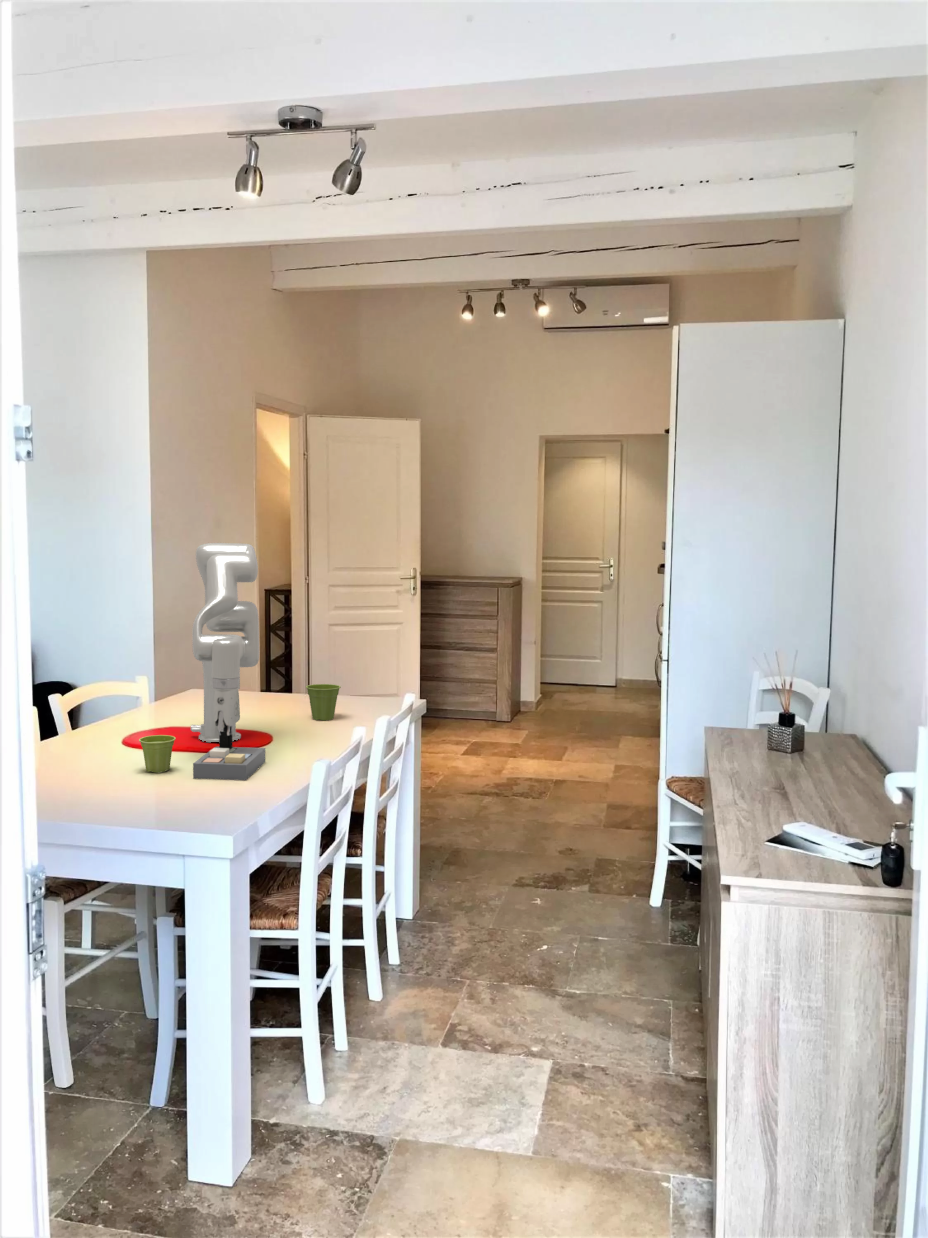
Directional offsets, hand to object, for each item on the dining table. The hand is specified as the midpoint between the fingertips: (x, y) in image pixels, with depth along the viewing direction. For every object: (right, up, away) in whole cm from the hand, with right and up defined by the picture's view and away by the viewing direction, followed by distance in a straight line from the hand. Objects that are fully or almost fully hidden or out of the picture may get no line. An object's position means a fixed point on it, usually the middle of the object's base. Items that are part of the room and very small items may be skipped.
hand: (225, 748), depth 281 cm
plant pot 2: (+18, +2, +66) cm, 68 cm away
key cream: (0, -2, -6) cm, 7 cm away
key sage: (0, -3, 0) cm, 3 cm away
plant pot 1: (-17, -5, -8) cm, 19 cm away
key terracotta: (-1, -4, -12) cm, 13 cm away
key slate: (+6, -4, -6) cm, 9 cm away
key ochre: (+5, -3, -12) cm, 14 cm away
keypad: (+3, -5, -6) cm, 8 cm away
